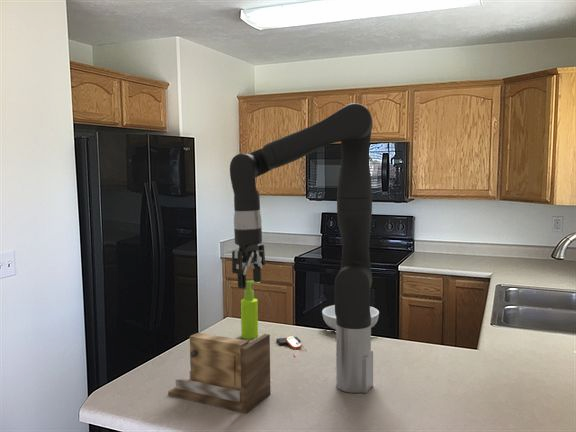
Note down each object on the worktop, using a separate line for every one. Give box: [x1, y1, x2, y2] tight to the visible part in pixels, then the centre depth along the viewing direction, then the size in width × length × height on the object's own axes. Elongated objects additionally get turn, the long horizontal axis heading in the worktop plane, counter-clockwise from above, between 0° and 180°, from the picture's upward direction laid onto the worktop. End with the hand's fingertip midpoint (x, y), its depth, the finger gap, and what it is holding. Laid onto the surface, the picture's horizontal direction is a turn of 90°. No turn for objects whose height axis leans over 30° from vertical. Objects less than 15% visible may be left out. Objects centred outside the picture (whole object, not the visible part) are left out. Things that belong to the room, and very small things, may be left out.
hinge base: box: [167, 333, 271, 414], centre depth 134 cm, size 24×12×16 cm, turn 63°
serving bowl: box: [321, 304, 380, 331], centre depth 190 cm, size 21×21×7 cm
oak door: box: [189, 332, 250, 391], centre depth 133 cm, size 17×5×14 cm, turn 64°
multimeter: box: [275, 335, 307, 358], centre depth 169 cm, size 18×12×3 cm, turn 12°
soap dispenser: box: [240, 280, 261, 340], centre depth 181 cm, size 6×7×20 cm
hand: (250, 284), depth 142 cm, fingers open, 8 cm apart
